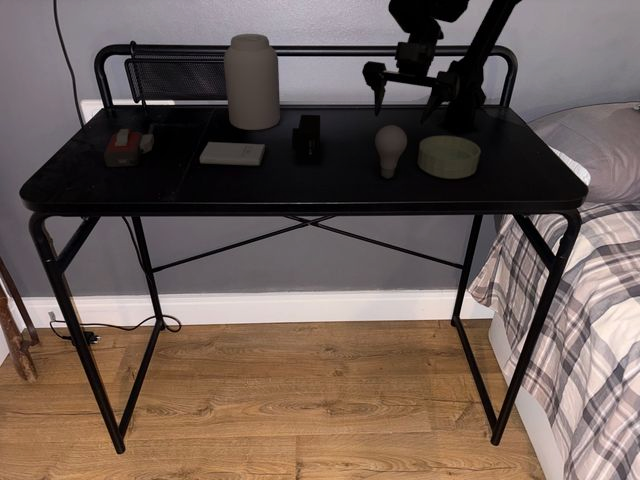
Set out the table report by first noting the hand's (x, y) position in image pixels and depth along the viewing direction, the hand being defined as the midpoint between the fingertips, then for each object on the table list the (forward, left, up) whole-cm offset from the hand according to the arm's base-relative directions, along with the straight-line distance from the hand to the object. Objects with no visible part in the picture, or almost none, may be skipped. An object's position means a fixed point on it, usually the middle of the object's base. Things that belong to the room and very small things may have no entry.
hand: (398, 119), depth 98 cm
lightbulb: (+3, +3, -11) cm, 12 cm away
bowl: (-11, +4, -11) cm, 16 cm away
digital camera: (+13, -14, -11) cm, 22 cm away
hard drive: (+28, -19, -11) cm, 36 cm away
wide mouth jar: (+17, -36, -11) cm, 42 cm away
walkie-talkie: (+47, -32, -11) cm, 58 cm away
